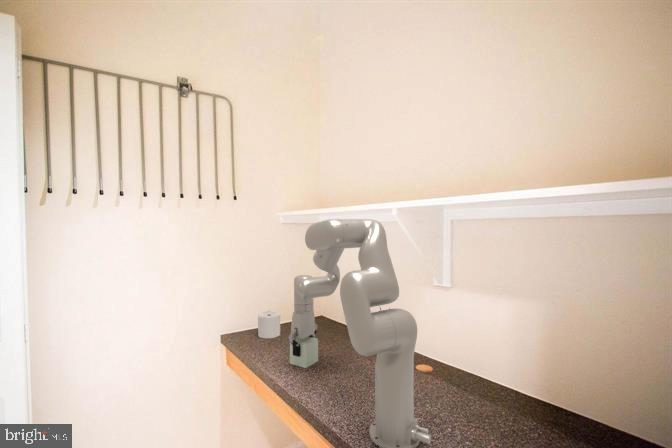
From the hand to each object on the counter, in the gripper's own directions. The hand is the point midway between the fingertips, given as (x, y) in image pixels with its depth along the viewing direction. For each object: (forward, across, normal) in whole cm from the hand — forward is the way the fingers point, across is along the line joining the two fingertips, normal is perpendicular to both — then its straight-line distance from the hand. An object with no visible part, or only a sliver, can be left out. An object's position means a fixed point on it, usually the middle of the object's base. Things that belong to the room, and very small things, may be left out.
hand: (304, 351), depth 127 cm
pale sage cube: (+4, 0, 0) cm, 4 cm away
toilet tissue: (+4, -17, -35) cm, 39 cm away
